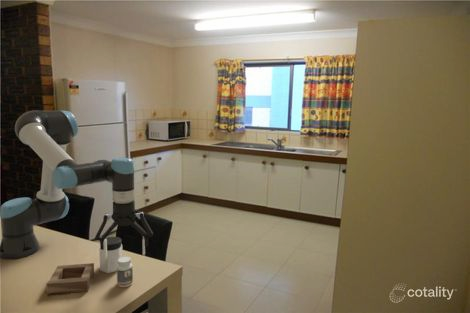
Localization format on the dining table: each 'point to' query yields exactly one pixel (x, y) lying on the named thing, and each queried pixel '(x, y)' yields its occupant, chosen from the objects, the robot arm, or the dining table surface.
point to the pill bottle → (124, 272)
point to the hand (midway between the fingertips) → (125, 255)
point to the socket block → (70, 279)
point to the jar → (111, 255)
